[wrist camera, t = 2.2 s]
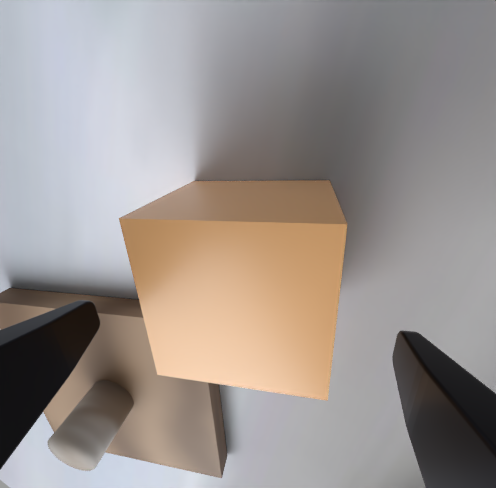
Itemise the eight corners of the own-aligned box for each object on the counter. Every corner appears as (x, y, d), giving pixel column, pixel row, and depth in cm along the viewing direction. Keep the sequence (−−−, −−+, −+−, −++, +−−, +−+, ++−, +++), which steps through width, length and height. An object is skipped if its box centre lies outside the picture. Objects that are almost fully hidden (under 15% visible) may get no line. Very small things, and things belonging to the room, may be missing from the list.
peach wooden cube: (329, 180, 11) (347, 224, 6) (320, 300, 14) (327, 400, 9) (194, 180, 12) (119, 218, 7) (207, 291, 15) (157, 374, 10)
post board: (209, 306, 15) (167, 382, 11) (227, 455, 21) (205, 546, 16) (9, 287, 18) (-90, 342, 13) (73, 423, 23) (18, 494, 19)
